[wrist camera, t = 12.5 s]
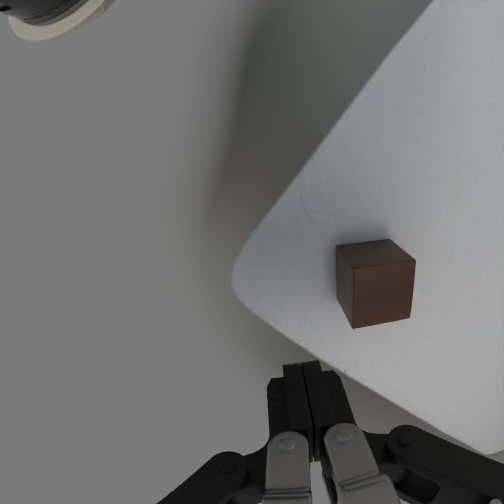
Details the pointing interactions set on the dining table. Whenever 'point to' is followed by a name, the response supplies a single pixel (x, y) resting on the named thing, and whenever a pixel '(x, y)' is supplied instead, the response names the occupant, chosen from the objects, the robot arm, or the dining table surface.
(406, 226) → the dining table surface
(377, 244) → the walnut block
